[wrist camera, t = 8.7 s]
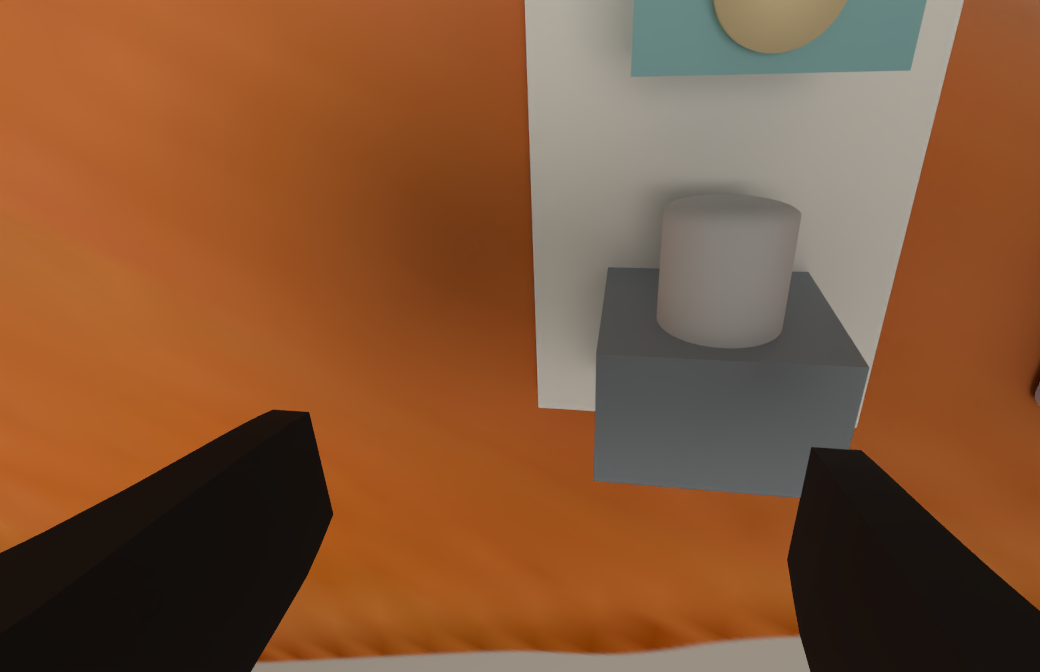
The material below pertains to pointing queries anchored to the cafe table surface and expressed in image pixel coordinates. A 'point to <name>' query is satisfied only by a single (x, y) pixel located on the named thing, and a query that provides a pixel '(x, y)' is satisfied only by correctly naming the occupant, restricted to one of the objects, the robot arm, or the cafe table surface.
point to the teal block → (773, 36)
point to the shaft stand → (715, 246)
